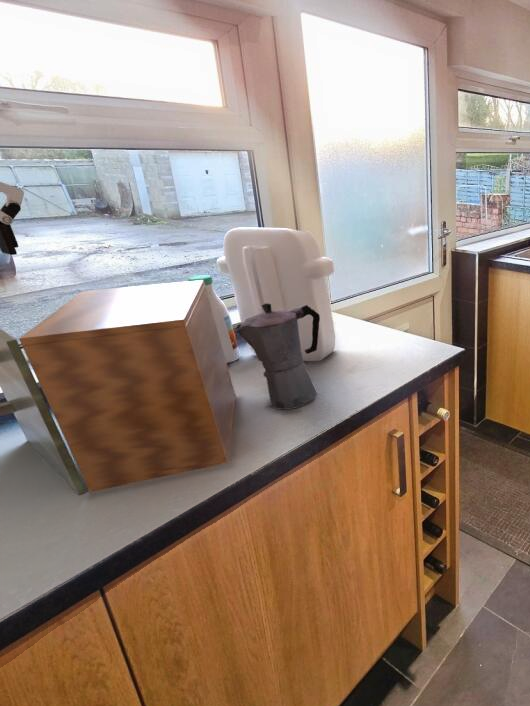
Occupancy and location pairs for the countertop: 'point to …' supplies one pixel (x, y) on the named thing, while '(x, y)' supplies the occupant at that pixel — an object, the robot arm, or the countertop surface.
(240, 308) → the toaster
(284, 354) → the moka pot
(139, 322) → the cupboard
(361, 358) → the countertop surface
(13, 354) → the cupboard door
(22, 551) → the countertop surface
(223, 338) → the milk bottle
